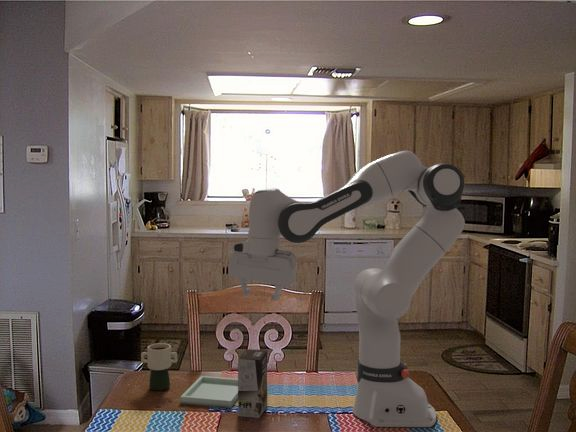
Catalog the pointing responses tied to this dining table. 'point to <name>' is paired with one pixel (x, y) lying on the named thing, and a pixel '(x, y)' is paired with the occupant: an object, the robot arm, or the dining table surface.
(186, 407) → the dining table surface
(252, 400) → the coffee box
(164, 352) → the character mug
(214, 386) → the tray
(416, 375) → the dining table surface
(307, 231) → the robot arm
